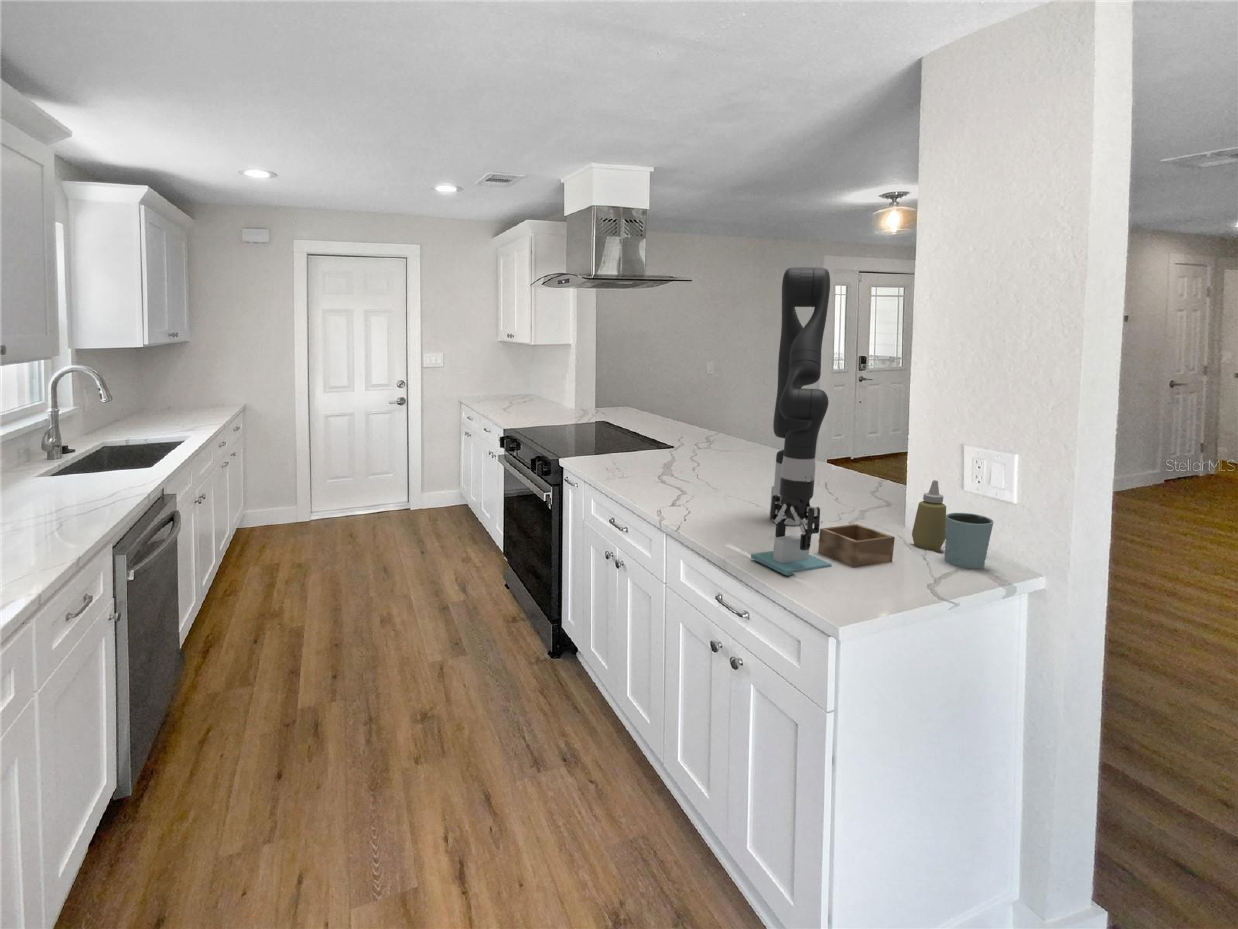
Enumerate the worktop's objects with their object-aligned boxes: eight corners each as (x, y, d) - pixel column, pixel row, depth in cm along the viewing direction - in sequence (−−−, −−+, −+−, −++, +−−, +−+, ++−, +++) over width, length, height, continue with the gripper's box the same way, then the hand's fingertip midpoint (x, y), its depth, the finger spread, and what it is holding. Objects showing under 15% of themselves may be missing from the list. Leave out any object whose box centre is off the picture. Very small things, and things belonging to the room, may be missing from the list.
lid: (750, 561, 170) (752, 532, 169) (793, 555, 176) (795, 527, 175) (786, 579, 159) (788, 548, 158) (830, 571, 165) (833, 542, 163)
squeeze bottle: (941, 546, 186) (950, 479, 183) (946, 555, 179) (955, 485, 175) (908, 543, 188) (916, 476, 185) (912, 552, 181) (920, 482, 177)
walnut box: (817, 556, 175) (820, 528, 174) (854, 550, 180) (857, 523, 179) (853, 571, 164) (856, 542, 163) (891, 565, 170) (894, 537, 168)
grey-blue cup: (992, 567, 171) (999, 518, 169) (979, 577, 164) (986, 526, 162) (948, 557, 178) (953, 510, 176) (933, 566, 170) (939, 517, 168)
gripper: (764, 471, 168) (760, 537, 171) (806, 483, 155) (800, 555, 159) (790, 469, 171) (784, 534, 174) (832, 481, 159) (825, 551, 162)
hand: (792, 544), depth 166 cm, fingers open, 8 cm apart
